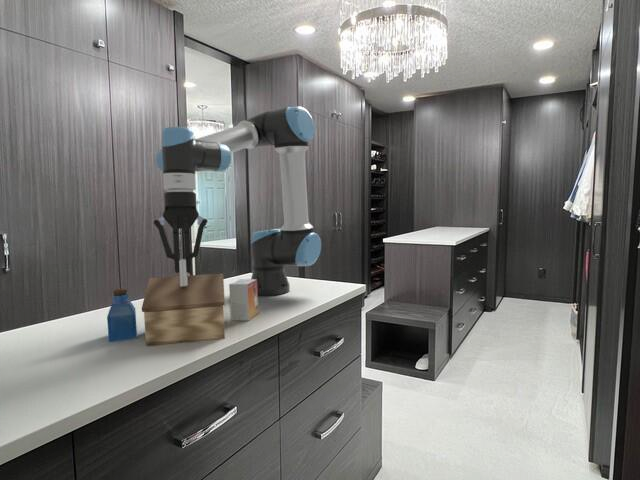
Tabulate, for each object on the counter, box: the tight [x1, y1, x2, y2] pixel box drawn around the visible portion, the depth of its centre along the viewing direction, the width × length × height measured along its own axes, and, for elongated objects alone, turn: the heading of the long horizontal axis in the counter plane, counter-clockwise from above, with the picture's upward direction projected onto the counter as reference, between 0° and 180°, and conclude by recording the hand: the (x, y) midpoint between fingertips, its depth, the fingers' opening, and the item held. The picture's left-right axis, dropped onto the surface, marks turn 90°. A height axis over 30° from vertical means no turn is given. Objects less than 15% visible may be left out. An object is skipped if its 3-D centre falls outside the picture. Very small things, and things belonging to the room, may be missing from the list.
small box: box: [228, 278, 259, 322], centre depth 120 cm, size 8×6×10 cm
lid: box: [141, 272, 226, 313], centre depth 104 cm, size 19×14×2 cm
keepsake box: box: [143, 305, 226, 347], centre depth 106 cm, size 18×14×8 cm
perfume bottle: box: [106, 288, 138, 343], centre depth 105 cm, size 6×6×12 cm
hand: (184, 285), depth 105 cm, fingers closed
